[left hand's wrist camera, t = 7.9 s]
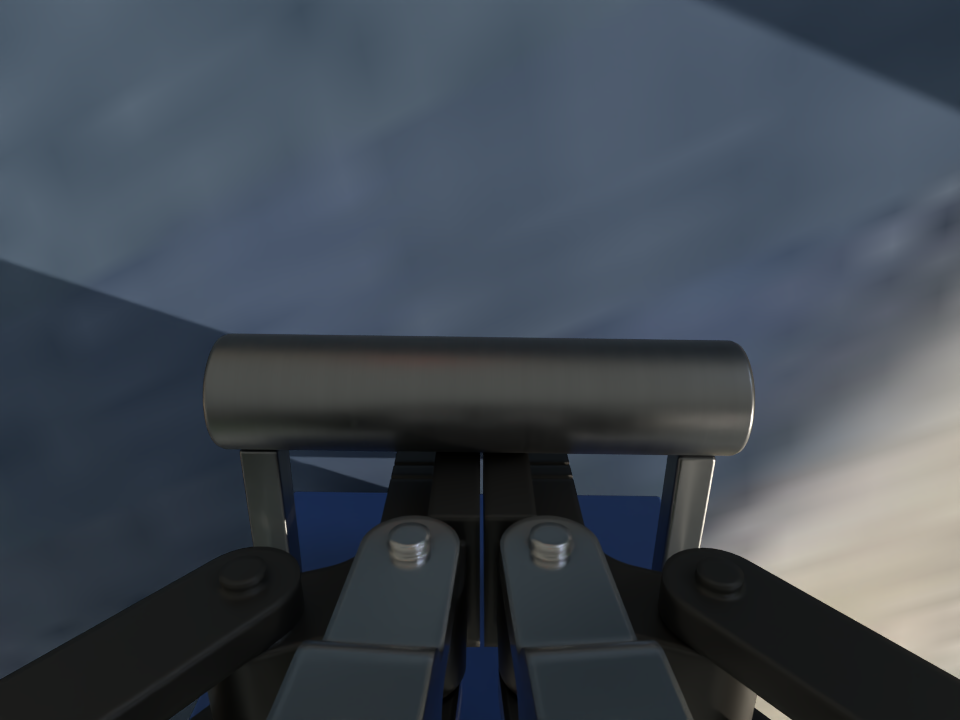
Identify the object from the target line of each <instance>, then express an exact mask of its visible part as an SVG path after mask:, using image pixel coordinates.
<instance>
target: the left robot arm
mask: <svg viewBox="0 0 960 720" xmlns="http://www.w3.org/2000/svg"><path fill="white" fill-rule="evenodd" d="M483 550H484V647H498V665H499V667H498V698H499V706H500V715H501V720H770V719H769V718H768V717H766V716H765V715H764V714H762V713H761V712H760V711H758V710H757V709H756V708H754V706H755V702H756V697H757V695H758V696H760V697H761V698H763V699H764V700H765V701H767V702H768V703H769V704H771V705H772V706H774V707H775V708H776V709H778V710H779V711H781V712H782V713H783V714H785V715H786V716H788V717H789V718H790V719H792V720H960V679H958V678H956V677H954V676H953V675H951V674H949V673H947V672H946V671H944V670H942V669H940V668H938V667H937V666H935V665H933V664H931V663H930V662H928V661H926V660H924V659H922V658H921V657H919V656H917V655H915V654H914V653H912V652H910V651H908V650H906V649H905V648H903V647H901V646H899V645H898V644H896V643H894V642H892V641H890V640H889V639H887V638H885V637H883V636H882V635H880V634H878V633H876V632H874V631H873V630H871V629H869V628H867V627H866V626H864V625H862V624H860V623H859V622H857V621H855V620H853V619H851V618H850V617H848V616H846V615H844V614H843V613H841V612H839V611H837V610H835V609H834V608H832V607H830V606H828V605H827V604H825V603H823V602H821V601H819V600H818V599H816V598H814V597H812V596H811V595H809V594H807V593H805V592H803V591H802V590H800V589H798V588H796V587H795V586H793V585H791V584H789V583H787V582H786V581H784V580H782V579H780V578H779V577H777V576H775V575H773V574H771V573H770V572H768V571H766V570H764V569H763V568H761V567H759V566H757V565H755V564H754V563H752V562H750V561H748V560H746V559H744V558H742V557H740V556H738V555H735V554H733V553H730V552H726V551H723V550H718V549H712V548H692V549H686V550H683V551H679V552H677V553H675V554H673V555H672V556H671V557H670V558H668V560H667V561H666V562H665V564H664V566H663V569H662V572H660V571H655V570H651V569H646V568H642V567H637V566H633V565H630V564H626V563H624V562H621V561H618V560H616V559H614V558H612V557H610V556H608V555H607V554H605V553H604V552H603V550H602V548H601V545H600V542H599V541H598V539H597V537H596V536H595V535H594V533H593V532H592V531H590V530H589V529H588V528H587V527H585V525H584V521H583V517H582V513H581V509H580V505H579V501H578V497H577V493H576V489H575V485H574V480H573V479H572V472H571V468H570V465H569V460H568V456H567V454H557V453H483ZM467 647H480V452H408V451H397V454H396V459H395V466H394V467H393V471H392V476H391V480H390V484H389V488H388V493H387V497H386V501H385V505H384V510H383V514H382V518H381V522H380V524H378V525H376V526H375V527H373V528H372V529H371V530H370V531H368V532H367V533H366V535H365V536H364V537H363V539H362V541H361V542H360V545H359V548H358V550H357V553H356V555H355V557H353V558H351V559H349V560H347V561H344V562H342V563H339V564H336V565H332V566H328V567H324V568H320V569H315V570H311V571H306V572H302V573H300V566H299V564H298V562H297V560H296V559H295V558H294V557H293V556H292V555H291V554H290V553H288V552H286V551H284V550H281V549H278V548H273V547H262V546H258V547H248V548H242V549H238V550H235V551H231V552H229V553H226V554H224V555H221V556H219V557H217V558H215V559H213V560H212V561H210V562H208V563H206V564H205V565H203V566H201V567H199V568H197V569H196V570H194V571H192V572H190V573H189V574H187V575H185V576H183V577H181V578H180V579H178V580H176V581H174V582H173V583H171V584H169V585H167V586H165V587H164V588H162V589H160V590H158V591H157V592H155V593H153V594H151V595H149V596H148V597H146V598H144V599H142V600H141V601H139V602H137V603H135V604H133V605H132V606H130V607H128V608H126V609H125V610H123V611H121V612H119V613H118V614H116V615H114V616H112V617H110V618H109V619H107V620H105V621H103V622H102V623H100V624H98V625H96V626H94V627H93V628H91V629H89V630H87V631H86V632H84V633H82V634H80V635H78V636H77V637H75V638H73V639H71V640H70V641H68V642H66V643H64V644H62V645H61V646H59V647H57V648H55V649H54V650H52V651H50V652H48V653H46V654H45V655H43V656H41V657H39V658H38V659H36V660H34V661H32V662H30V663H29V664H27V665H25V666H23V667H22V668H20V669H18V670H16V671H14V672H13V673H11V674H9V675H7V676H6V677H4V678H2V679H0V720H168V719H170V718H171V717H172V716H174V715H175V714H177V713H178V712H179V711H181V710H182V709H184V708H185V707H186V706H188V705H189V704H191V703H192V702H193V701H195V700H196V699H198V698H199V697H200V696H202V695H203V694H204V693H206V692H208V697H209V702H210V705H209V706H207V707H206V708H204V709H203V710H202V711H200V712H199V713H198V714H196V715H195V716H194V717H192V718H191V719H190V720H459V715H460V706H461V698H462V679H463V677H464V674H465V670H466V649H467Z"/></svg>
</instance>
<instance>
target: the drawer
mask: <svg viewBox="0 0 960 720" xmlns="http://www.w3.org/2000/svg"><path fill="white" fill-rule="evenodd" d="M203 409H204V417H205V422H206V426H207V430H208V432H209V435H210V437H211V439H212V440H213V442H214V443H215V444H216V445H217V446H219V447H221V448H224V449H241V450H240V458H241V465H242V471H243V478H244V485H245V492H246V499H247V506H248V512H249V519H250V526H251V533H252V540H253V547H258V546H262V547H273V548H278V549H281V550H284V551H286V552H288V553H290V554H291V555H292V556H293V557H294V558H295V559H296V560H297V562H298V564H299V566H300V573H302V572H306V571H311V570H315V569H320V568H324V567H328V566H332V565H336V564H339V563H342V562H344V561H347V560H349V559H351V558H353V557H355V555H356V553H357V550H358V548H359V545H360V542H361V541H362V539H363V537H364V536H365V535H366V533H367V532H368V531H370V530H371V529H372V528H373V527H375V526H376V525H378V524H380V522H381V518H382V514H383V510H384V505H385V501H386V497H387V493H366V492H293V484H292V475H291V466H290V457H289V450H333V451H408V452H483V453H557V454H632V455H668V458H667V465H666V472H665V478H664V485H663V492H662V499H660V498H659V497H657V496H594V495H577V497H578V501H579V505H580V509H581V513H582V517H583V521H584V525H585V527H587V528H588V529H589V530H590V531H592V532H593V533H594V535H595V536H596V537H597V539H598V541H599V542H600V545H601V548H602V550H603V552H604V553H605V554H607V555H608V556H610V557H612V558H614V559H616V560H618V561H621V562H624V563H626V564H630V565H633V566H637V567H642V568H646V569H651V570H655V571H660V572H662V569H663V566H664V564H665V562H666V561H667V560H668V558H670V557H671V556H672V555H673V554H675V553H677V552H679V551H683V550H686V549H692V548H700V544H701V539H702V533H703V527H704V522H705V516H706V510H707V505H708V499H709V493H710V488H711V482H712V476H713V471H714V465H715V456H732V455H734V454H737V453H739V452H740V451H741V450H742V449H743V448H744V447H745V445H746V443H747V441H748V439H749V436H750V433H751V429H752V425H753V419H754V411H755V388H754V379H753V374H752V369H751V365H750V362H749V359H748V357H747V355H746V353H745V351H744V350H743V348H742V347H741V346H740V345H739V344H737V343H735V342H732V341H723V340H651V339H580V338H509V337H438V336H366V335H295V334H227V335H224V336H222V337H220V338H219V339H218V340H217V341H216V342H215V344H214V346H213V347H212V349H211V352H210V354H209V357H208V360H207V364H206V369H205V374H204V383H203ZM498 667H499V665H498V647H484V550H483V494H480V647H467V649H466V670H465V674H464V677H463V679H462V698H461V706H460V715H459V720H501V715H500V706H499V698H498ZM209 705H210V702H209V697H208V692H206V693H204V694H203V695H202V696H200V697H199V699H198V701H197V703H196V705H195V708H194V710H193V712H192V714H191V716H190V718H189V720H190V719H191V718H192V717H194V716H195V715H196V714H198V713H199V712H200V711H202V710H203V709H204V708H206V707H207V706H209Z"/></svg>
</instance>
